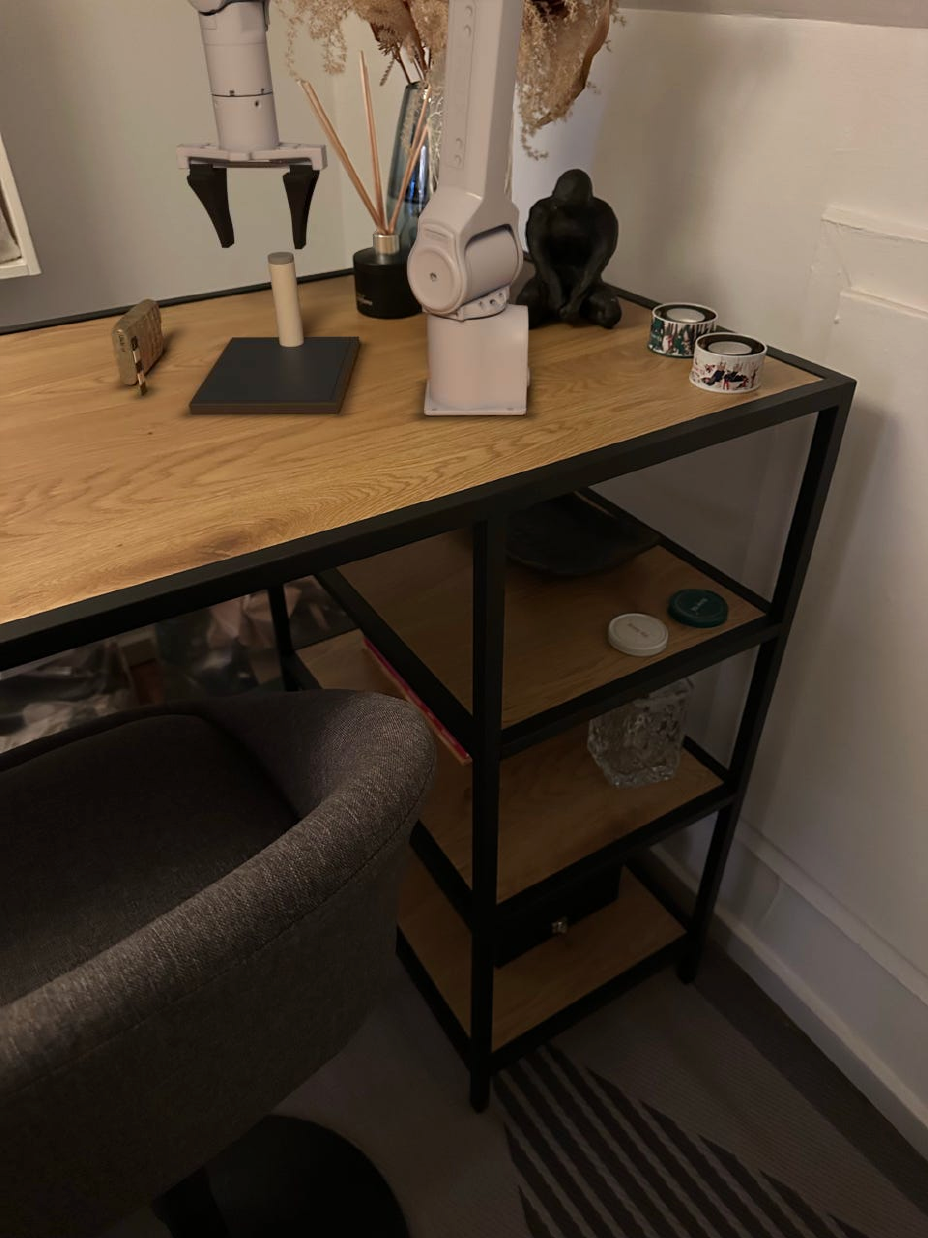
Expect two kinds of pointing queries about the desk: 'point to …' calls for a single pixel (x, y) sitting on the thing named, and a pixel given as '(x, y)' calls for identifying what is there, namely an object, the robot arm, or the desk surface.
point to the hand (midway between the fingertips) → (264, 246)
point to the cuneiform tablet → (137, 342)
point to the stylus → (286, 298)
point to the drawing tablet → (278, 377)
